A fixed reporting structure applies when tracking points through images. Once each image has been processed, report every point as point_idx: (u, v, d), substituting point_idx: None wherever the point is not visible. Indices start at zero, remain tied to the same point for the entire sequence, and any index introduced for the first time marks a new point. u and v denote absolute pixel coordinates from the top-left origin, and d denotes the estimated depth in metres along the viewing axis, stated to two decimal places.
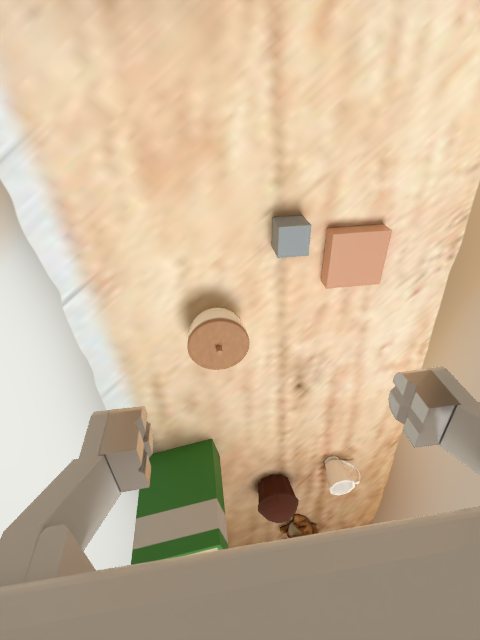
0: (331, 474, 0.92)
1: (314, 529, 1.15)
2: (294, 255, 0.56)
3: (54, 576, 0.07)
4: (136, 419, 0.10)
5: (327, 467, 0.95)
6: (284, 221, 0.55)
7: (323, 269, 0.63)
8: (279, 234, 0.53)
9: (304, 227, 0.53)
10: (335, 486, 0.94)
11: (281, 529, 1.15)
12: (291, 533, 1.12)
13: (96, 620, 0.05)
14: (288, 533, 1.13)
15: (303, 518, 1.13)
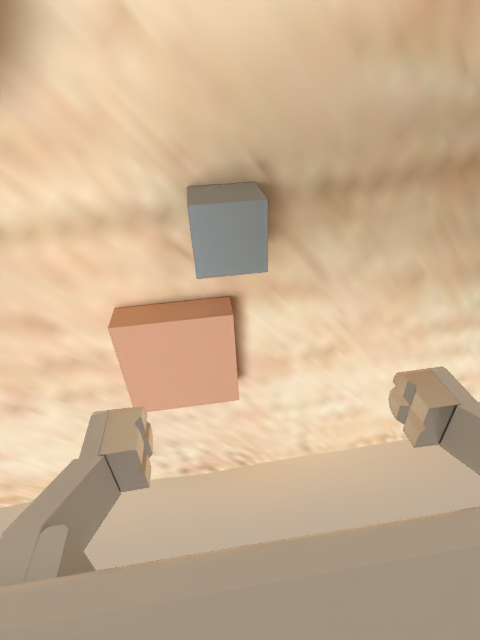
0: None
1: None
2: (195, 247, 0.23)
3: (54, 576, 0.07)
4: (136, 419, 0.10)
5: None
6: None
7: (144, 308, 0.30)
8: (249, 202, 0.22)
9: (263, 258, 0.24)
10: None
11: None
12: None
13: (96, 620, 0.05)
14: None
15: None
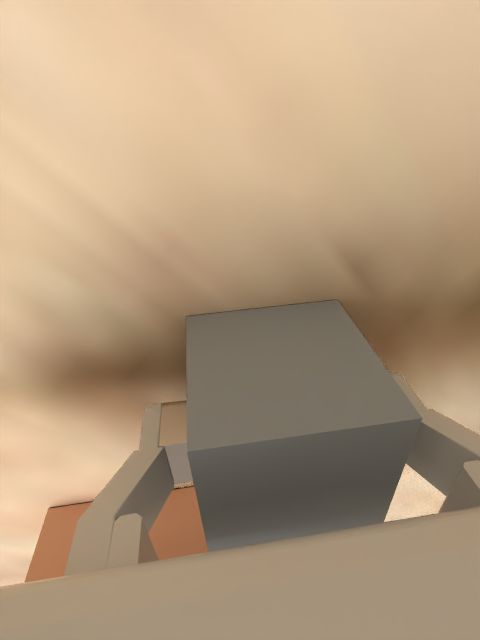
0: None
1: None
2: (209, 518, 0.09)
3: (135, 562, 0.07)
4: None
5: None
6: None
7: None
8: (367, 427, 0.07)
9: (376, 515, 0.10)
10: None
11: None
12: None
13: (96, 620, 0.05)
14: None
15: None
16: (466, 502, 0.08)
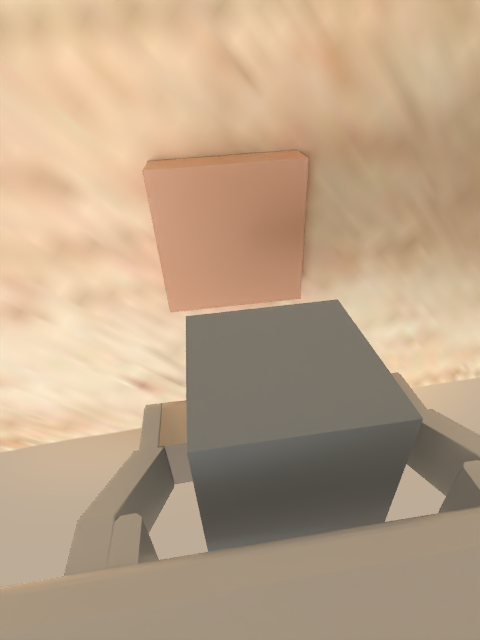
0: None
1: None
2: (209, 518, 0.09)
3: (135, 562, 0.07)
4: None
5: None
6: None
7: (187, 159, 0.23)
8: (368, 427, 0.07)
9: (377, 516, 0.10)
10: None
11: None
12: None
13: (96, 620, 0.05)
14: None
15: None
16: (466, 502, 0.08)
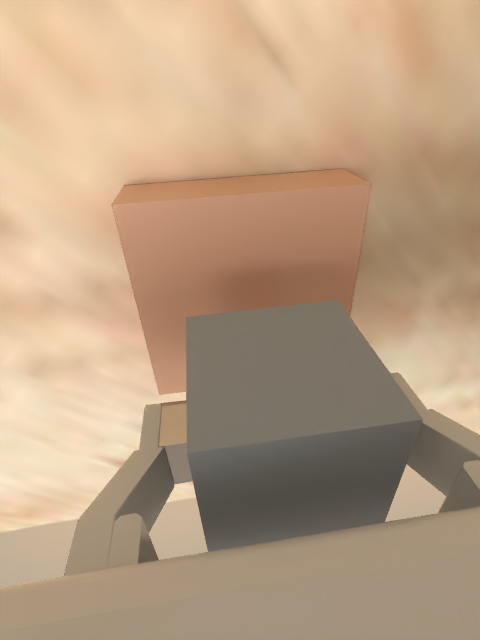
0: None
1: None
2: (209, 519, 0.09)
3: (135, 562, 0.07)
4: None
5: None
6: None
7: (182, 184, 0.15)
8: (368, 428, 0.07)
9: (377, 516, 0.10)
10: None
11: None
12: None
13: (96, 620, 0.05)
14: None
15: None
16: (466, 502, 0.08)
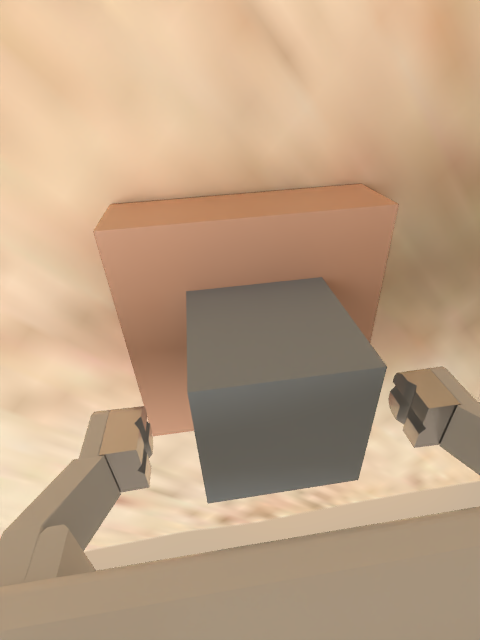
0: None
1: None
2: (206, 459, 0.10)
3: (54, 576, 0.07)
4: (136, 419, 0.10)
5: None
6: None
7: (178, 203, 0.13)
8: (340, 374, 0.09)
9: (354, 462, 0.11)
10: None
11: None
12: None
13: (96, 620, 0.05)
14: None
15: None
16: None
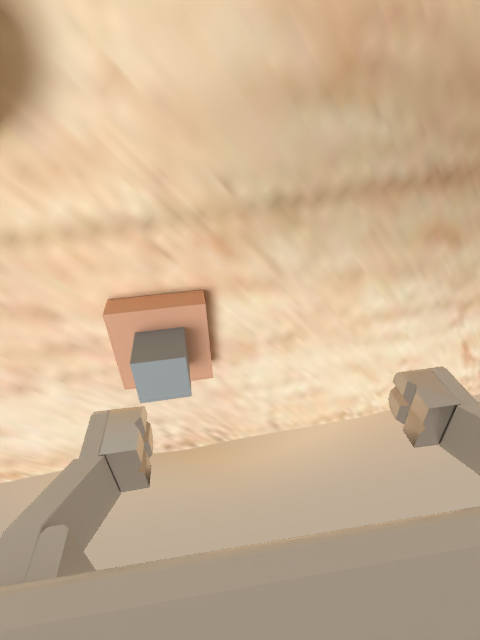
0: None
1: None
2: (137, 385, 0.33)
3: (54, 576, 0.07)
4: (136, 419, 0.10)
5: None
6: (186, 352, 0.35)
7: (132, 300, 0.36)
8: (172, 359, 0.32)
9: (187, 389, 0.34)
10: None
11: None
12: None
13: (96, 620, 0.05)
14: None
15: None
16: None
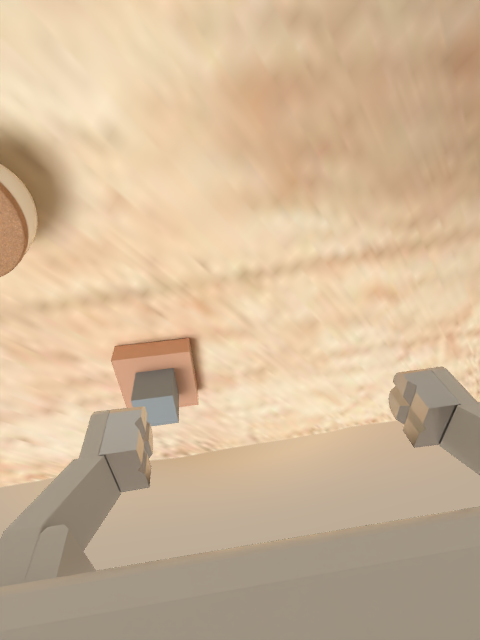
0: None
1: None
2: None
3: (54, 576, 0.07)
4: (137, 419, 0.10)
5: None
6: (174, 389, 0.45)
7: (134, 346, 0.47)
8: (162, 397, 0.42)
9: (175, 417, 0.45)
10: None
11: None
12: None
13: (96, 620, 0.05)
14: None
15: None
16: None
